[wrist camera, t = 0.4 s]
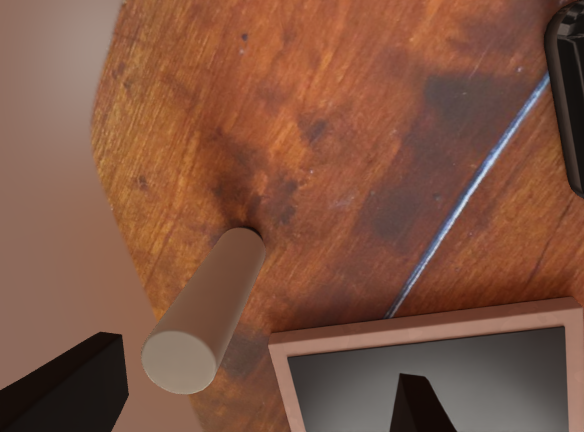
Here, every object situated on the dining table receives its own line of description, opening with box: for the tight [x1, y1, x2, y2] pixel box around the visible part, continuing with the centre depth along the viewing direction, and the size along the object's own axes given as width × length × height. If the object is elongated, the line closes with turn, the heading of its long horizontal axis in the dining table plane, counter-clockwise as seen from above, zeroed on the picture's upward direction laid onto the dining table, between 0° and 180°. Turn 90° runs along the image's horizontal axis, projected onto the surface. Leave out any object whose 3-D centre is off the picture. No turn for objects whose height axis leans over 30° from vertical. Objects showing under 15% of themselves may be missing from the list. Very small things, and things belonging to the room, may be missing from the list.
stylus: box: [141, 226, 266, 394], centre depth 17 cm, size 2×2×9 cm
